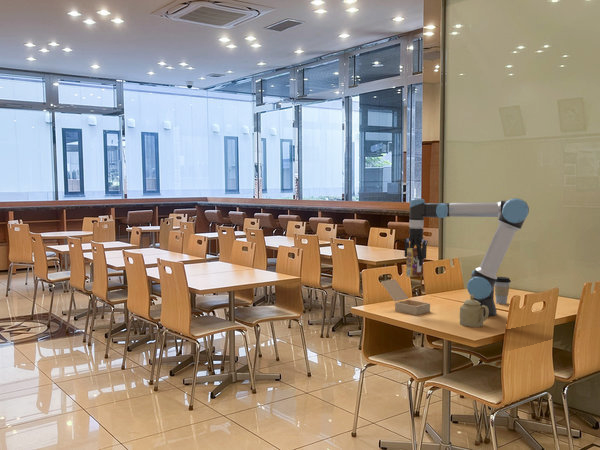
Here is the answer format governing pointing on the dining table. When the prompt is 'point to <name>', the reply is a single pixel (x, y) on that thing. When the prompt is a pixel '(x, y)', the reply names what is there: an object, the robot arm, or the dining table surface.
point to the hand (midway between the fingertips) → (414, 271)
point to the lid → (394, 290)
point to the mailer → (412, 307)
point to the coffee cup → (502, 289)
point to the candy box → (412, 263)
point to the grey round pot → (472, 313)
